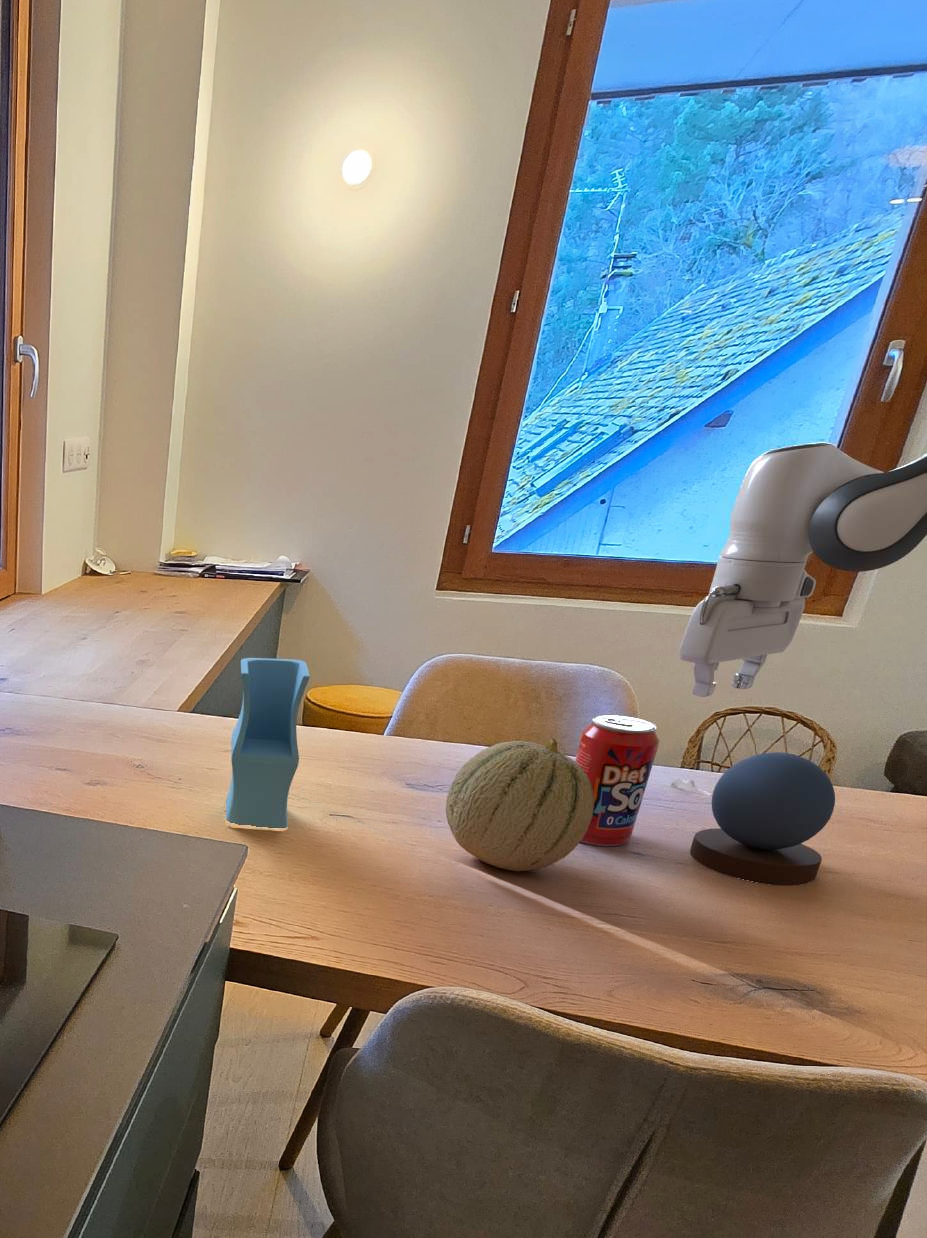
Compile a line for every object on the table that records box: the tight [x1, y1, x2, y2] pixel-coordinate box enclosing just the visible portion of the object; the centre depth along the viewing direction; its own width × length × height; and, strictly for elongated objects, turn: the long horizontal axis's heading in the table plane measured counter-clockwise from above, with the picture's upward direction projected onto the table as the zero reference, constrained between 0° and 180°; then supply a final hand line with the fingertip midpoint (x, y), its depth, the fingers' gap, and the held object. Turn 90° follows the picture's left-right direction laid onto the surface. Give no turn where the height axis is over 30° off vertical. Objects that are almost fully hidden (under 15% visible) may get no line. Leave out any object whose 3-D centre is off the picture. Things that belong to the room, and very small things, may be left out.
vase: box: [225, 657, 311, 828], centre depth 128 cm, size 8×8×20 cm
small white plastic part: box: [670, 778, 713, 797], centre depth 139 cm, size 4×6×3 cm, turn 0°
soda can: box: [574, 714, 660, 847], centre depth 123 cm, size 8×8×15 cm
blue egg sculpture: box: [689, 751, 836, 887], centre depth 116 cm, size 12×12×14 cm
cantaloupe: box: [445, 737, 594, 872], centre depth 115 cm, size 15×15×15 cm
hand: (721, 691), depth 133 cm, fingers open, 8 cm apart
